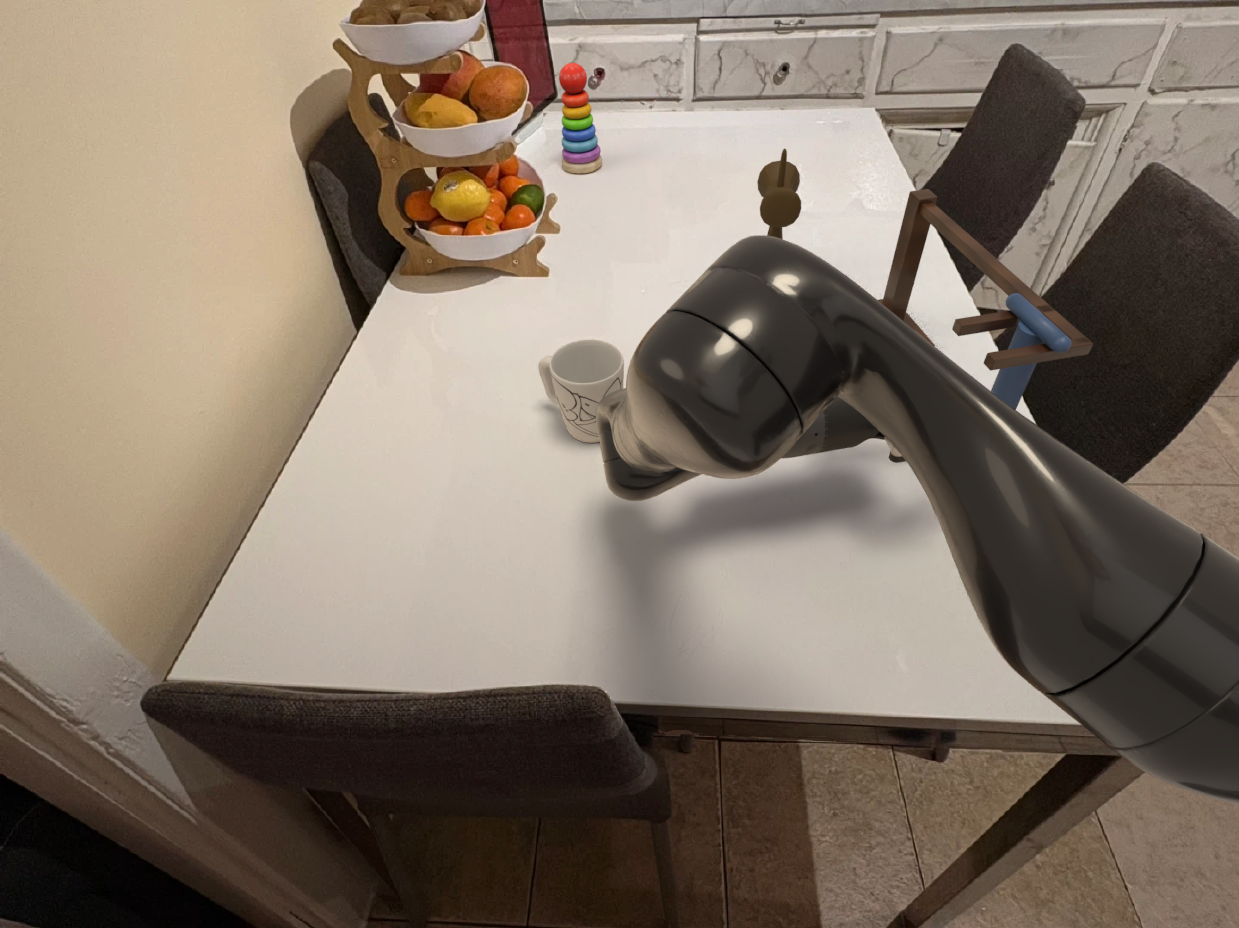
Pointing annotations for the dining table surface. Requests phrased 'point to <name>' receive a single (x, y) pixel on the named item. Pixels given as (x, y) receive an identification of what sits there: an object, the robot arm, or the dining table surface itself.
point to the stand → (911, 248)
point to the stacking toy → (577, 123)
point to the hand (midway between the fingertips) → (963, 389)
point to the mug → (582, 382)
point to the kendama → (779, 195)
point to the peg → (1027, 333)
